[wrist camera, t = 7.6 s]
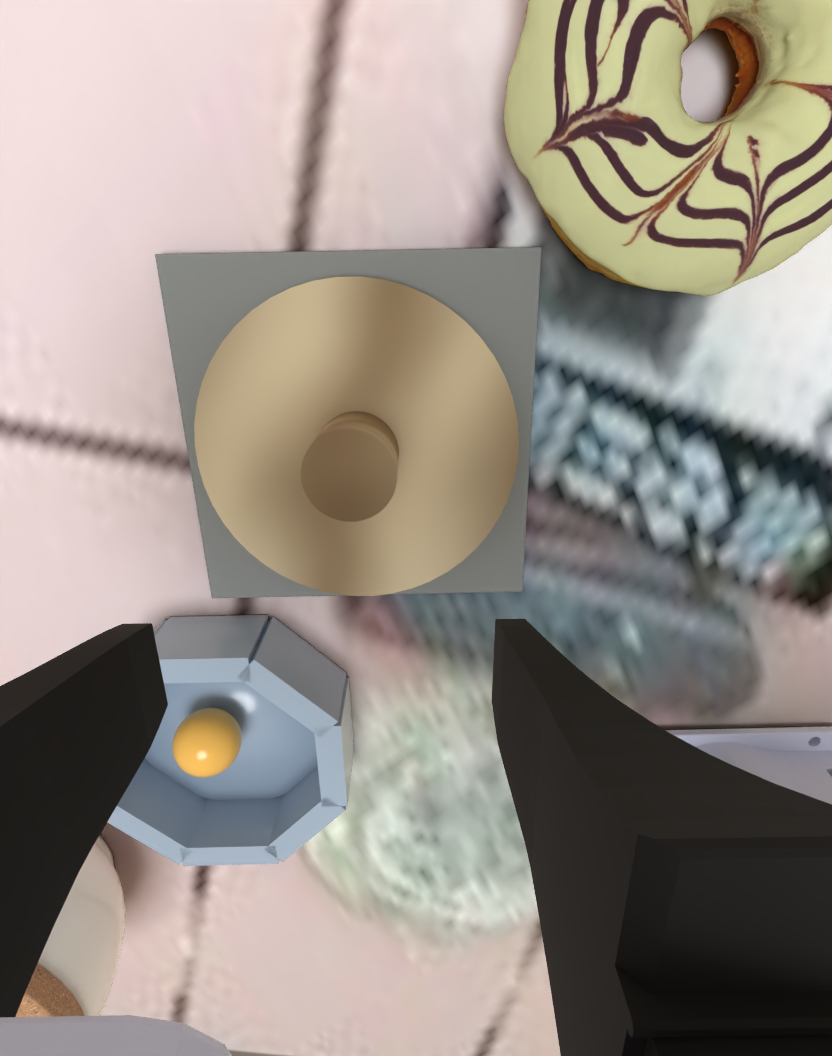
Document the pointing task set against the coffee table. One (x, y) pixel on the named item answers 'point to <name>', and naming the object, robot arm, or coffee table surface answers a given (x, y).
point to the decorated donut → (675, 137)
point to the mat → (444, 274)
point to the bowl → (241, 745)
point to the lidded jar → (81, 944)
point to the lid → (356, 436)
